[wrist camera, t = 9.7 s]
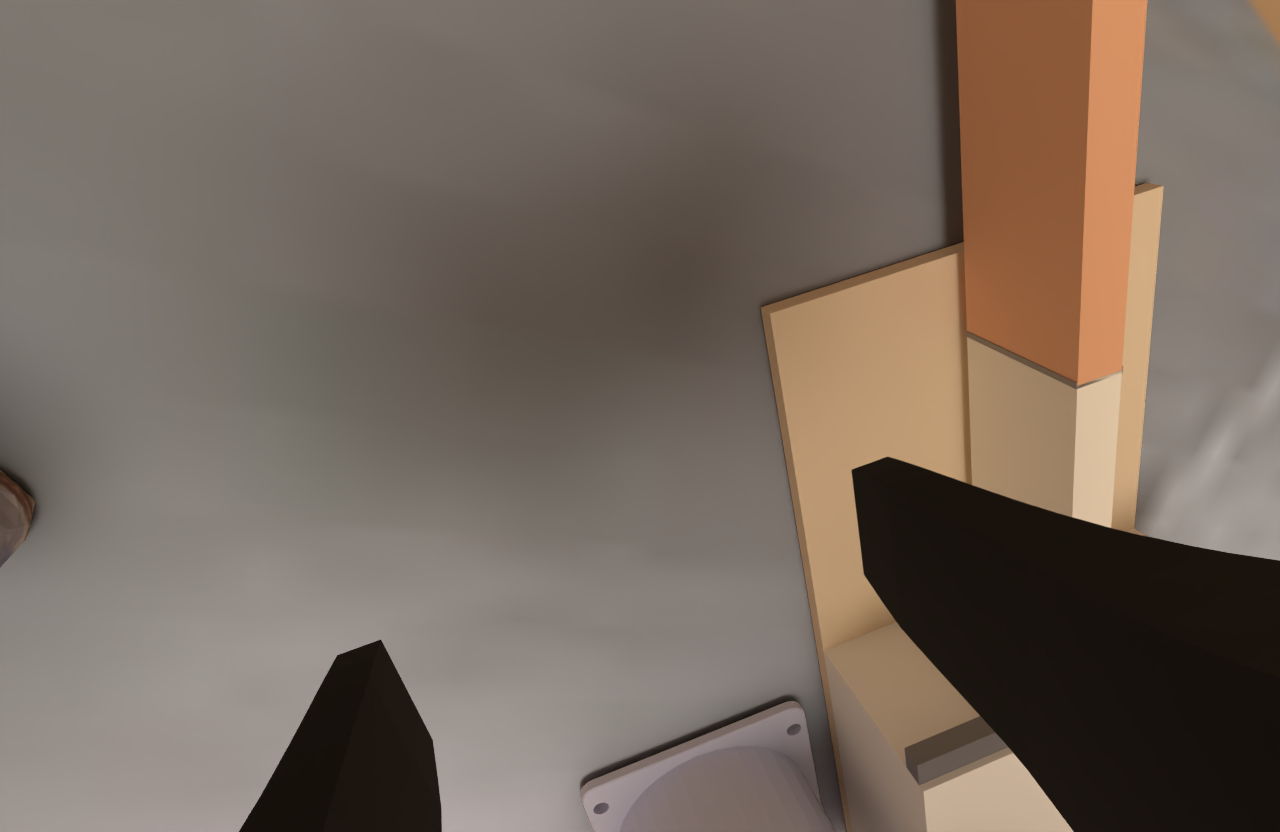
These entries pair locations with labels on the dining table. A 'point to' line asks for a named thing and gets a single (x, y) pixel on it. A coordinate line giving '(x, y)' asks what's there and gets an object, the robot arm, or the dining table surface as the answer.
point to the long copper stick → (1048, 240)
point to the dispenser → (829, 537)
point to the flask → (13, 516)
